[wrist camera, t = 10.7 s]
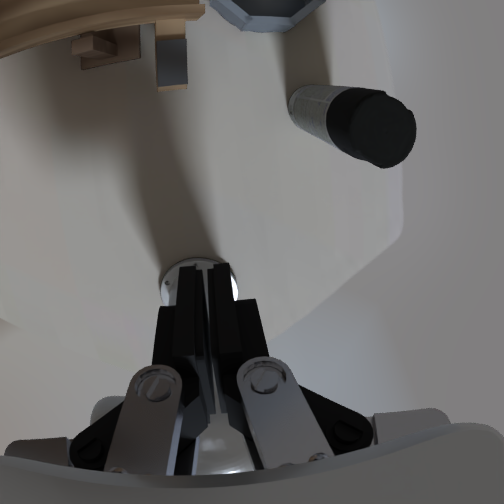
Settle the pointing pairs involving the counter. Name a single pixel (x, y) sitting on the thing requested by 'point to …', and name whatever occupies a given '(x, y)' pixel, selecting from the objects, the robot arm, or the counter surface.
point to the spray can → (356, 121)
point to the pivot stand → (107, 46)
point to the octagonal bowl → (264, 13)
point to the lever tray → (103, 27)
